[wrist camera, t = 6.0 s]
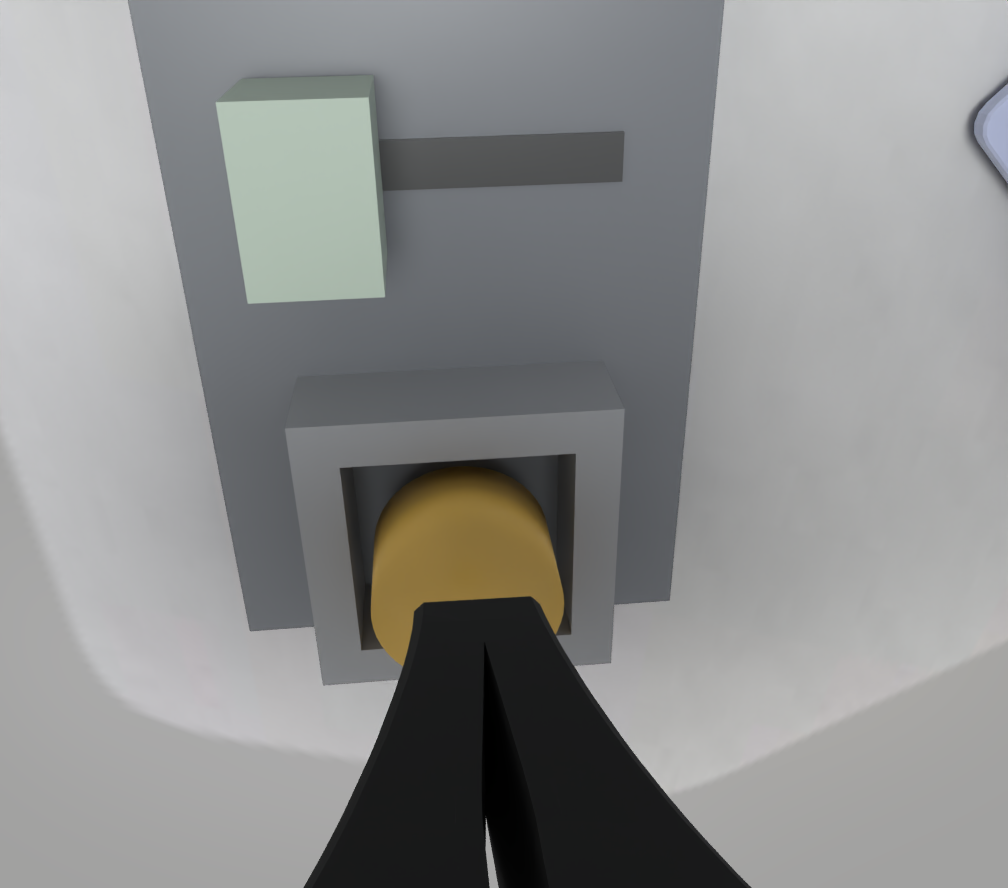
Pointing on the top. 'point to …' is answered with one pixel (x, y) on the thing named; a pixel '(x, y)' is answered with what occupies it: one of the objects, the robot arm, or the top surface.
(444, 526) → the amber button
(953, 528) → the top surface
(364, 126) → the sage green cuboid
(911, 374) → the top surface
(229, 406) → the control panel
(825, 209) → the top surface
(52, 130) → the top surface
